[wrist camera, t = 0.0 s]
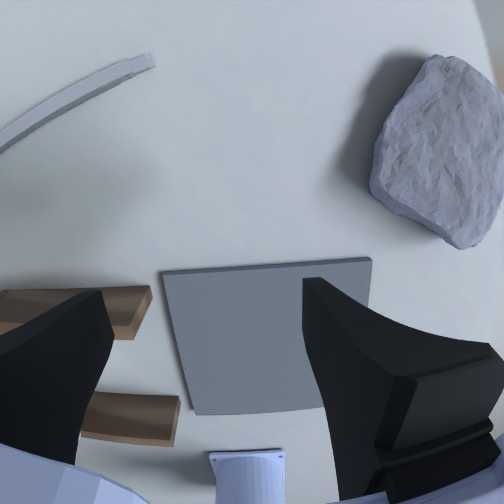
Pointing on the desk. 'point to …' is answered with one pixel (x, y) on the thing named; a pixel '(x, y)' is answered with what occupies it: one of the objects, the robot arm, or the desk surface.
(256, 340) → the mat
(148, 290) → the open box
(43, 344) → the robot arm
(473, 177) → the stone block
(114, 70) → the caliper
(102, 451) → the desk surface
